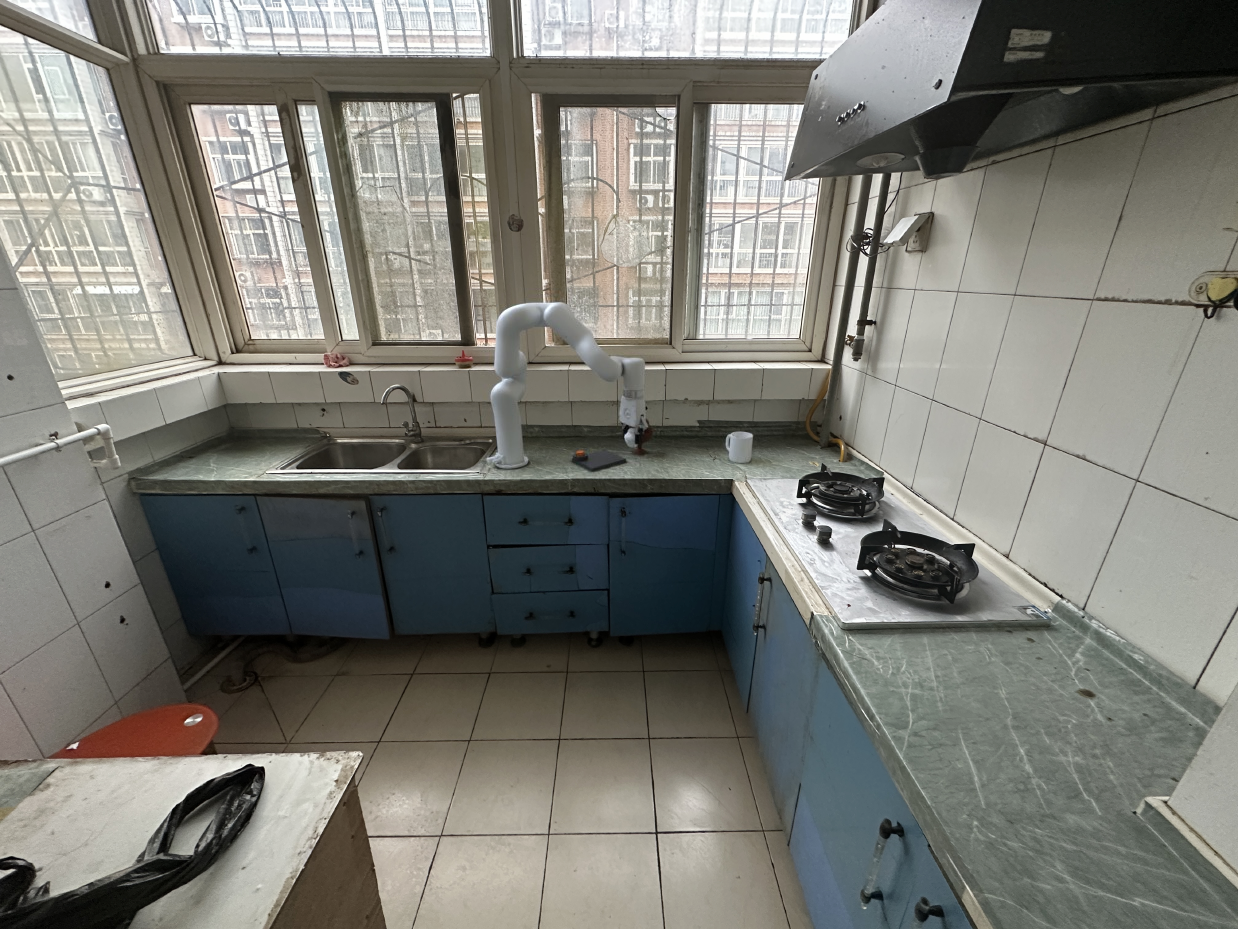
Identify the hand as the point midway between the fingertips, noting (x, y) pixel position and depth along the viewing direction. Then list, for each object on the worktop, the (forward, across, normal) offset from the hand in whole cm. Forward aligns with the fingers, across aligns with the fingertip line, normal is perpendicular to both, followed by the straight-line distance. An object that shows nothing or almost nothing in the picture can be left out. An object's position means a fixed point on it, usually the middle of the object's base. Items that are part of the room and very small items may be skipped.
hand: (632, 440), depth 183 cm
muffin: (+2, 0, 0) cm, 2 cm away
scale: (+11, -12, -6) cm, 18 cm away
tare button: (+8, -17, -12) cm, 22 cm away
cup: (+10, +18, +38) cm, 43 cm away
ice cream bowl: (+10, -10, +13) cm, 19 cm away
